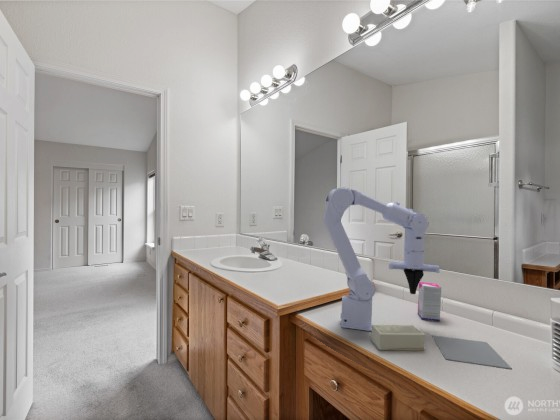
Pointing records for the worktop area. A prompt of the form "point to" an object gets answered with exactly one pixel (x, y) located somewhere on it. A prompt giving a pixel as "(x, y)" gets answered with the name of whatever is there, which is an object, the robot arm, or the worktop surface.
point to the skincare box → (397, 337)
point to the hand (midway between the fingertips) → (412, 293)
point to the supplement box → (429, 301)
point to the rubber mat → (469, 351)
